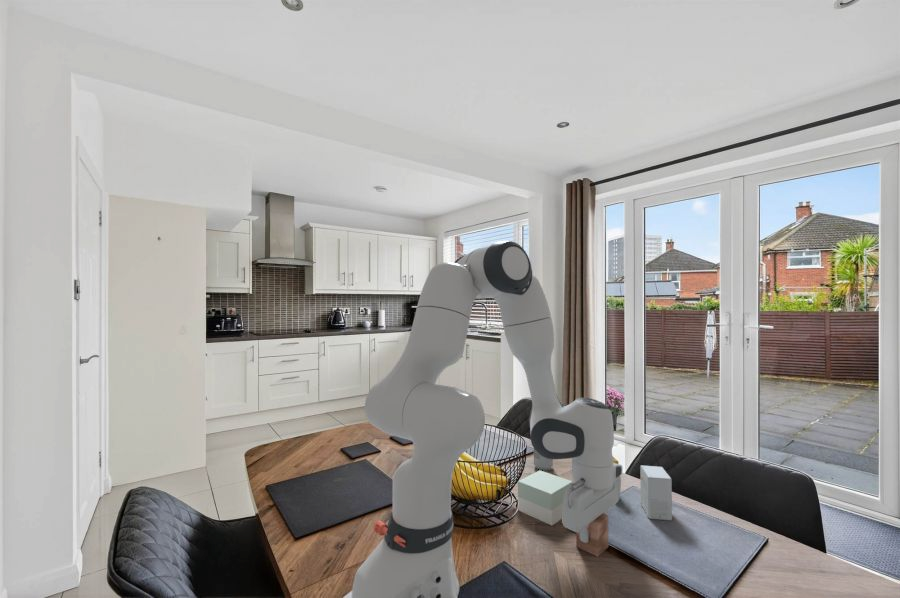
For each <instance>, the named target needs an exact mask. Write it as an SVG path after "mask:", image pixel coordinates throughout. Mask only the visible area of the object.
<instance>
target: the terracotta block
mask: <svg viewBox="0 0 900 598" xmlns="http://www.w3.org/2000/svg"><path fill="white" fill-rule="evenodd" d="M587 530H588V532H589V533H590V540H589V541H588V542H587V543H585V542H582V541H581V540H580V532H575V535H576V540H575V541H576V545H575V546H576V548H579V549H580V550H583V551H584V552H587V553H588V554H591V555H593V556H595V557H598V558H599V556H600V555H601V554H602V553H603V552H605V550H607V549H608V548H609V515H608V514H607V515H606V514H602V515H600V516H599V517H598V518H596V519H595V520H594V521H592V522H591V523H590V524H589V527H588V528H587Z"/></svg>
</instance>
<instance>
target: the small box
mask: <svg viewBox="0 0 900 598" xmlns="http://www.w3.org/2000/svg"><path fill="white" fill-rule="evenodd" d="M639 469H640V504H641V507H642V508H643V511H644V510H645V511H644V512H646V513H645V514H646V516H647V518H648V519H649V520H650V519H651V520H660V521H661V520H663V521H672V520H673V504H672V503H673V499H672V498H673V493H672V491H673V489H672V488H673V487H672V485H673V484H672V483H673V481H672V480H673V479H672V477H671V476H670V475H669V473H667V471H666V470H665V469H664V467H663V466H657V465H655V466H654V465H652V466H651V465H640V467H639Z"/></svg>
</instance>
